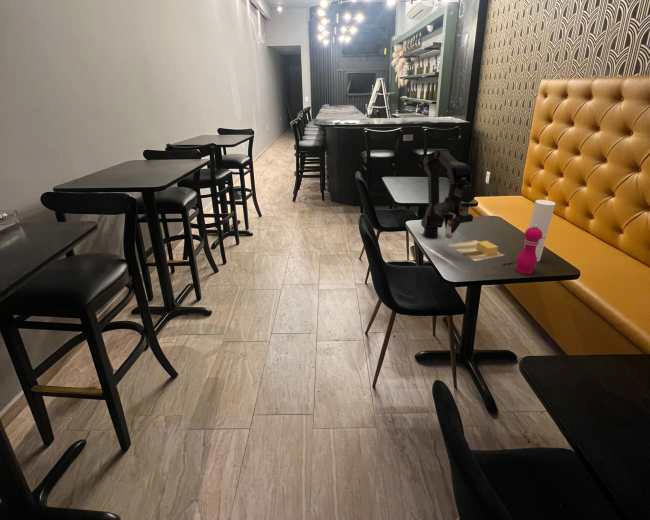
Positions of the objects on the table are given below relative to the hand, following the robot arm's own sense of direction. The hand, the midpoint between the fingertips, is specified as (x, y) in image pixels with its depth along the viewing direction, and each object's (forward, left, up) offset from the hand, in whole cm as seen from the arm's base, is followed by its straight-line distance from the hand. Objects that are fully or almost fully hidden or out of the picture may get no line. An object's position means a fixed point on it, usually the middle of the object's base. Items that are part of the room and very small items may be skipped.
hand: (449, 231), depth 165 cm
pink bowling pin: (+24, +20, -11) cm, 33 cm away
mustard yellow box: (+6, +16, -10) cm, 20 cm away
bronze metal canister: (0, 0, -3) cm, 3 cm away
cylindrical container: (+16, +32, -11) cm, 38 cm away
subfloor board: (+3, +13, -11) cm, 17 cm away
